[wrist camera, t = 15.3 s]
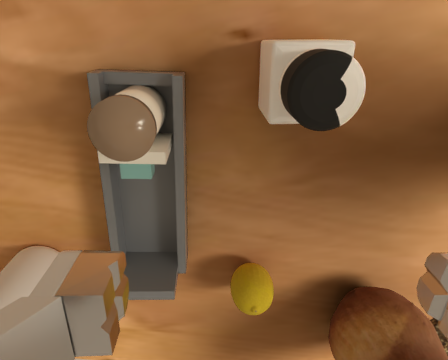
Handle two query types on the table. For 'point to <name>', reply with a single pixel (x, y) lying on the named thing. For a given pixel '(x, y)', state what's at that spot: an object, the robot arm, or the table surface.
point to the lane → (148, 192)
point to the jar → (127, 122)
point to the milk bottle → (24, 273)
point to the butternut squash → (382, 328)
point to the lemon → (252, 288)
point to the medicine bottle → (310, 82)
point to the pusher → (144, 159)
